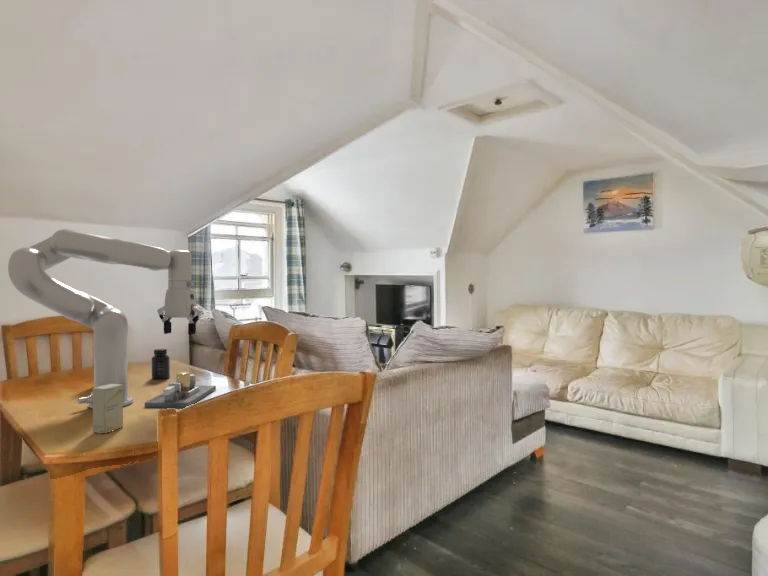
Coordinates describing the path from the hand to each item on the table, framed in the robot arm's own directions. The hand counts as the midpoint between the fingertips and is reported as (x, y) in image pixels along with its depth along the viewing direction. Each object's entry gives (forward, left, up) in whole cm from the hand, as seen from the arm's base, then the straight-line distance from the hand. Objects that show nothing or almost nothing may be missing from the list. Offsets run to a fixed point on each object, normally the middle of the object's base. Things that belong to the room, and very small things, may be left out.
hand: (179, 333), depth 166 cm
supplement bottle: (+13, +32, -22) cm, 41 cm away
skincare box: (-33, -18, -22) cm, 44 cm away
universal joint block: (-1, -4, -20) cm, 21 cm away
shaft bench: (-1, -4, -22) cm, 22 cm away
